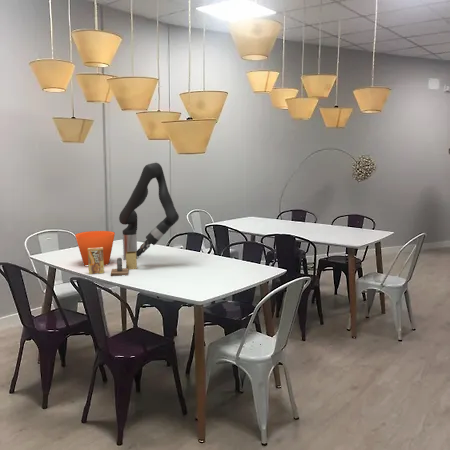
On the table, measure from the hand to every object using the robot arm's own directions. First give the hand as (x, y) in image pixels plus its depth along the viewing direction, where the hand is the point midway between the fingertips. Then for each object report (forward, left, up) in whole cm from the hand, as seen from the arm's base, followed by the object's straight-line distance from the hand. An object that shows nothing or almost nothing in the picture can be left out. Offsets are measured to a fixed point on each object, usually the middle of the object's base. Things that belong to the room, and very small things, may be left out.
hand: (137, 254), depth 305 cm
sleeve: (+1, -4, -8) cm, 9 cm away
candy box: (+12, -23, -9) cm, 27 cm away
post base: (+14, -9, -8) cm, 18 cm away
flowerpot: (-13, -29, -9) cm, 33 cm away
